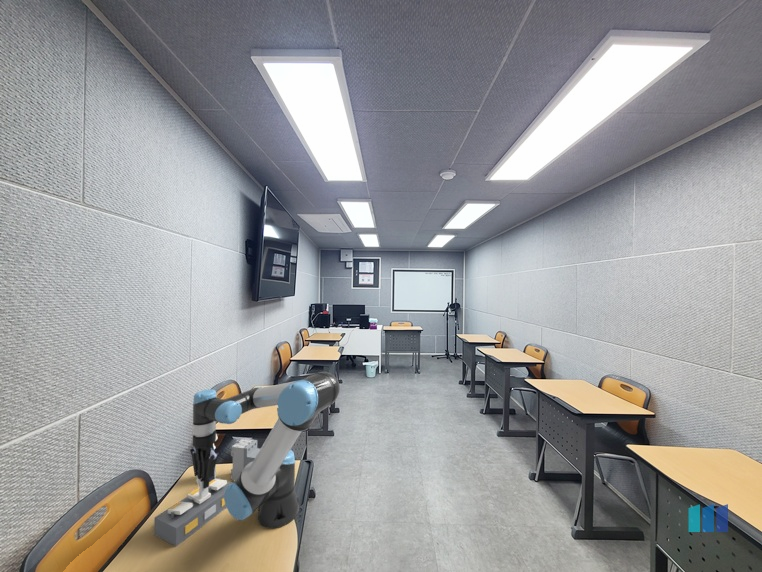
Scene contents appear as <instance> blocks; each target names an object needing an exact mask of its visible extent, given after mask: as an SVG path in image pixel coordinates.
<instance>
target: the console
mask: <svg viewBox="0 0 762 572" xmlns="http://www.w3.org/2000/svg"><path fill="white" fill-rule="evenodd" d="M215 479H220V480H224V479H222V478H221V477H216V478H215ZM230 483H232V482H231V481H228V480H227V484H226V485H224V486H223V487H221V488H220V489H218V490H212V489H211V488H208V492H209V493H211V497H209V498H208V499H207V500H205V501H204V502H202V503H201V504H198V503H196V502H195V501H194V500H193V499H189V498H187V496H185V497H184V498H183V499H181V500H179V501H178V502H177V503H179V502H189V503H193V507H191V508H190V509H188V510H187V511H185V512H184V513H182V514H181V515H177V514H174V513H173V512H171V514H169V513H168V509H170V508H171V507H172V506H174V505H175V504H177V503H175V504H174V505H172V506H170V507H169V508H167V509H166V510H164V511H162V512H161V513H160V514H159V513H158V515H156V516H155V517H154V524H153V525H154V527H153V529H154V530H153V533H154V534H153V535H154V536H155V537H157V538H159V539H161V540H163V541H165V542H166V543H169V544H170V545H172V546H175V547H178V546H179V545H181V543H183V542H184V541H185V540H186V539H188V538H189V537H190V536H192V535H193V534H194V533H196V532H197V531H198V530H200V529H201V528H203V526H205V525H206V524H207V523H209V522H210V521H212V520H213V519H214V518H215V517H217V516H218V515H219V514H220V513H222V512H224V510H226V509H227V507H226V505H225V501H224V492H225V489H226V488H227V486H229V485H230Z"/></svg>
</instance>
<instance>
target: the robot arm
mask: <svg viewBox="0 0 762 572" xmlns="http://www.w3.org/2000/svg"><path fill="white" fill-rule="evenodd" d="M340 389H341V388H340V382H339V379H338V378H337V377H336V376H335V375H334V374H333V373H331V372H328V371H319V372H316V373H315V374H311V375H308V376H307V377H305V378H303V379H299V380H295V381H289V382H284V383H279V384H275V385H274V384H273V385H270V386H269V385H268V386H264V387H262V386H258V387H254V388H253V387H252V388H251V389H249V390H246V391H244V392H240V393H239V394H236V395H233V396H230V397H227V398H218V397H217V396H218V395H217V391H216V390H215V389H213V388H212V389H209V388H208V389H203V390H200V391H197V392H195V394H194V395H193V403H192V446H193V448H191V449H190V450H189V452H190V455H191V458H192V459H191V460H192V461H191V462H192V467H193V473H194V476H195V477H197V476H198V479H199V484H198V487H199V498H203V497H204V496H206V495H207V494H208V487H209V479H210V478H211V477H213V476H214V471H215V466H216V465H217V460H218V457H219V452H215V449H214V447H213V443H214V444H215V442H216V441H217V440H216V434H217V430H216V429H217V423H219V424H221V425H222V424H223V425H224V424H226V425H231V424H234V423H235V422H237V420H239V419H240V417H241V415H242V414H245V413H246V412H249V411H251V410H256V409H260V408H261V409H262V408H267V407H275V406H277V409H276V411H277V420H276V422H275V423H274V425H273V427H272V429H271V430H270V432H269V434H268V435H267V437H266V439H265V441H264V442H263V444H262V446H261V447H260V451H259V452H258V454H257V456H256V458H255V459H254V461H253V462H250V463H249V464H248V465H246V467H245V468H244V469H243V471H242V473H241V474H240V476H239V478H238V479H237V480H236V481H233V482H231V483H230V485H229V486H227V488H226V489H225V492H224V501H225V505H226V507H227V508H226V509H227V511H228V514H230V516H231V517H233V518H234V519H236V520H238V521H244V520H245V519H247V518H248V517H250V516H252V515H253V513H254V512H256V511H257V516H256V517H257V523H258V524H259V525H260V526H261V527H262V528H266V529H276V528H278V529H279V528H281V527H283V526H286V525H288V524H289V523H291V522H292V521H293V520H295V518H296V517H297V516H298V514H299V511H300V501H299V500H300V499H299V498H298V495H297V492H296V489H295V482H296V481H295V480H296V479H295V478H296V477H295V476H296V475H295V472H296V471H295V469H296V460H295V453H294V451H293V450H292V447H293V446H294V444H295V443H296V441H297V440H298V438H299V436H300V434H301V433H302V432H305V431H307V430H308V429H309V428H310V427H311V426H312V425H313V423H314V421H315V419H316V418H317V416H318V415H319V414H320V413H321V412H323V411H324V410H325V409H328V407H330V406H332V405H333V404H334V403H335V402H336V401H337V400H338V397H339V395H340ZM215 440H216V441H215Z"/></svg>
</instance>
